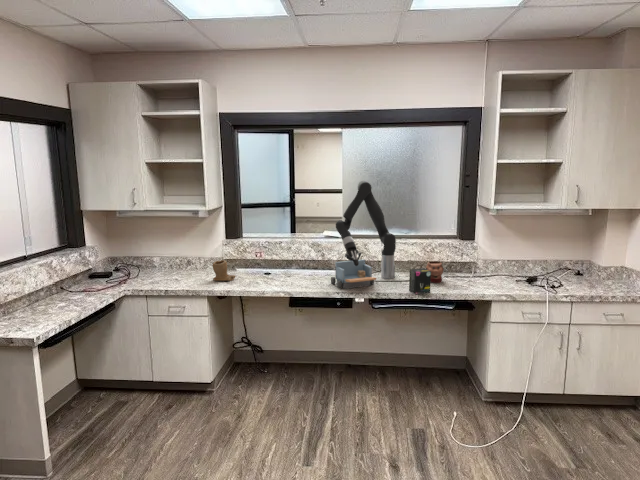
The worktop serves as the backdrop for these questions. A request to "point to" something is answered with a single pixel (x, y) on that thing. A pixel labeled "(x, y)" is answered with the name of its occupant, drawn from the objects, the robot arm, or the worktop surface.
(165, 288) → the worktop surface
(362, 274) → the block
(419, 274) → the tampon box
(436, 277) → the decorative planter
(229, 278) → the brown boot
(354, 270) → the pickup bed
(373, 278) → the panel
